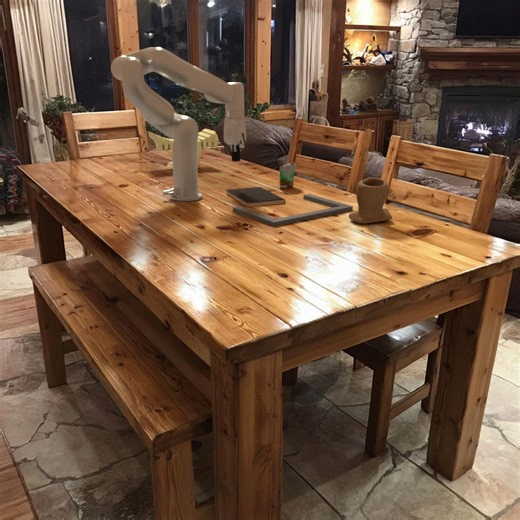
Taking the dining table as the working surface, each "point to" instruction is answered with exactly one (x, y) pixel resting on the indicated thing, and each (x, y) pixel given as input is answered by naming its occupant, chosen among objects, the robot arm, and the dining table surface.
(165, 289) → the dining table surface
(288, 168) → the food container
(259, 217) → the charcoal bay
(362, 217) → the stone cup
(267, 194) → the hardcover book
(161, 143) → the slatted curved stool
